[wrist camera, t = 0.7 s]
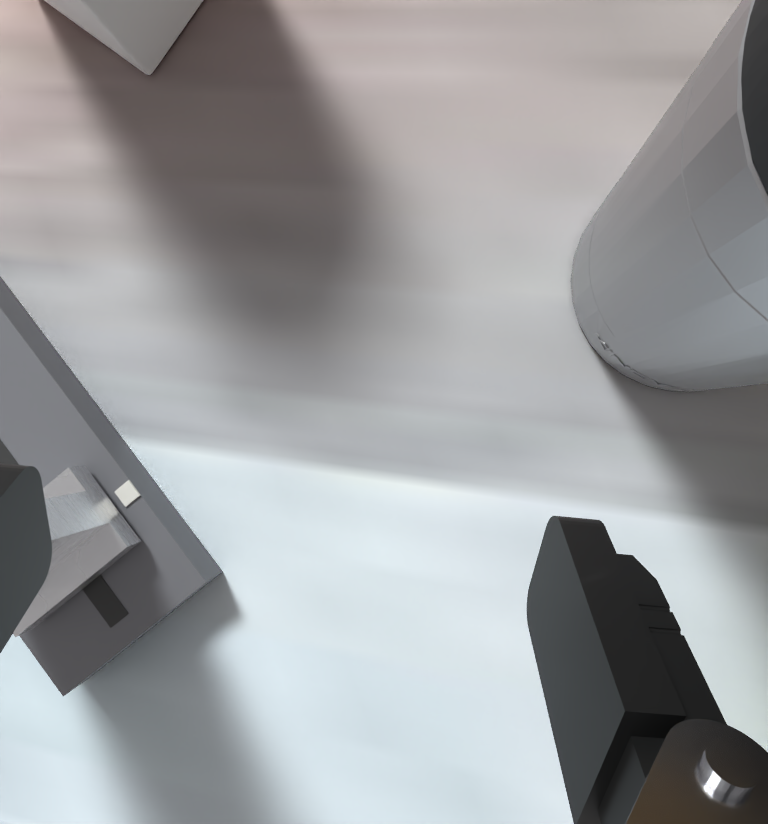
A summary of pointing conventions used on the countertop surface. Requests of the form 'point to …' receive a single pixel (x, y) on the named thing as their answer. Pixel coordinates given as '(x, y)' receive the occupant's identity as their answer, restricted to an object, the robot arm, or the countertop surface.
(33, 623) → the fader tab
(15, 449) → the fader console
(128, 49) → the milk carton
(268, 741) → the countertop surface
